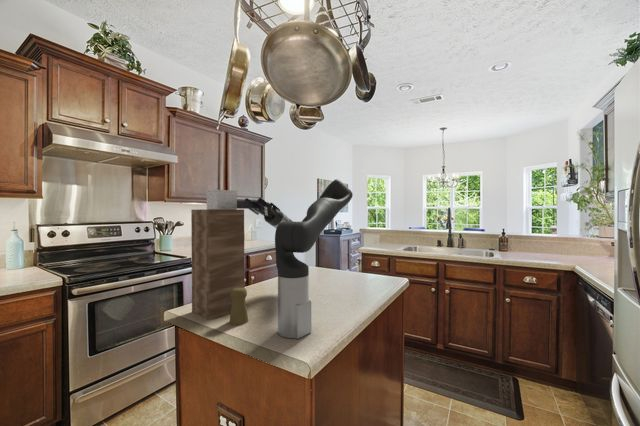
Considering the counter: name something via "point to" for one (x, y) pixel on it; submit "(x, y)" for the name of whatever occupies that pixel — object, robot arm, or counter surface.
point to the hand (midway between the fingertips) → (251, 199)
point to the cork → (238, 307)
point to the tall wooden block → (216, 259)
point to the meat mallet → (228, 200)
